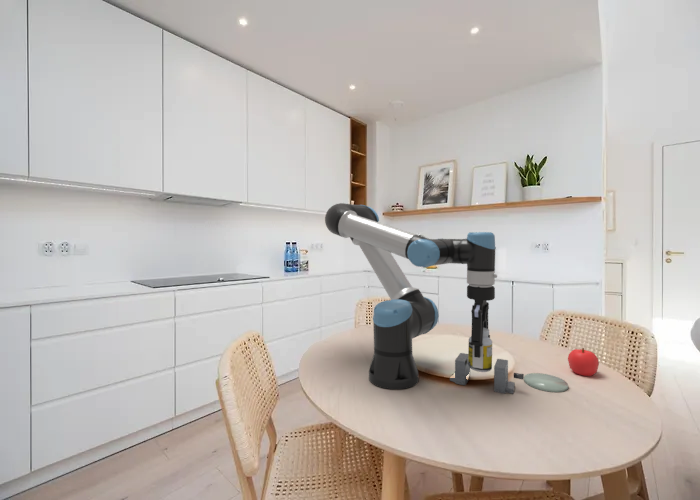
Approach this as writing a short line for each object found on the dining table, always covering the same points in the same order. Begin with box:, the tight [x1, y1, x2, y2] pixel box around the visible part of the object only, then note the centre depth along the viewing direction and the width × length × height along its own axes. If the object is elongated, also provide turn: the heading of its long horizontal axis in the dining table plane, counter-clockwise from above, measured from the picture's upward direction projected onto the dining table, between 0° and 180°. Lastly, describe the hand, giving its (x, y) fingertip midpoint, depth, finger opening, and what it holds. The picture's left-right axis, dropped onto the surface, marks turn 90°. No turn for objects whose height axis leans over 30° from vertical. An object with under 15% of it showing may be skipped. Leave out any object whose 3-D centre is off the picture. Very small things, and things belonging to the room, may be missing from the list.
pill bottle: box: [467, 328, 493, 373], centre depth 96 cm, size 6×6×12 cm
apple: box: [567, 347, 600, 377], centre depth 102 cm, size 8×8×8 cm
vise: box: [449, 352, 525, 395], centre depth 96 cm, size 19×7×7 cm, turn 59°
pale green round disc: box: [523, 372, 569, 393], centre depth 96 cm, size 11×11×1 cm
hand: (480, 363), depth 96 cm, fingers closed on pill bottle, 6 cm apart
